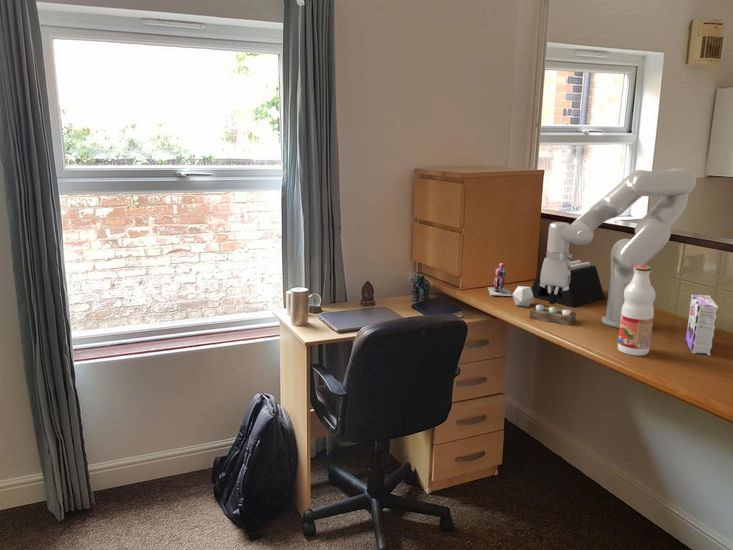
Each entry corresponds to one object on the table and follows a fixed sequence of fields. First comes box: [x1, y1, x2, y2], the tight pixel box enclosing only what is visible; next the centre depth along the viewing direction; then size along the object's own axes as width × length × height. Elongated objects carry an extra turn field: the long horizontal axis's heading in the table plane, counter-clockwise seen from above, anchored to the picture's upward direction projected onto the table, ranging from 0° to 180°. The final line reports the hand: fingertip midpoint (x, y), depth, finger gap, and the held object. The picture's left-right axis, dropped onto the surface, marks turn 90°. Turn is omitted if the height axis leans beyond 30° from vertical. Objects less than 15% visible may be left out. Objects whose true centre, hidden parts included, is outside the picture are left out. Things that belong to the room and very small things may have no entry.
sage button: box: [548, 306, 558, 314], centre depth 219 cm, size 3×3×4 cm
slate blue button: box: [535, 304, 545, 311], centre depth 222 cm, size 3×3×4 cm
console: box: [529, 306, 577, 326], centre depth 219 cm, size 15×8×3 cm, turn 55°
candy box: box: [685, 293, 719, 356], centre depth 188 cm, size 14×6×16 cm, turn 159°
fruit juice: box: [617, 264, 656, 357], centre depth 183 cm, size 9×9×28 cm
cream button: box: [561, 308, 572, 316], centre depth 216 cm, size 3×3×4 cm
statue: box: [487, 262, 513, 298], centre depth 254 cm, size 11×9×15 cm
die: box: [511, 285, 535, 308], centre depth 237 cm, size 8×9×10 cm
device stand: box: [531, 259, 606, 309], centre depth 248 cm, size 22×22×15 cm
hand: (552, 303), depth 218 cm, fingers closed
